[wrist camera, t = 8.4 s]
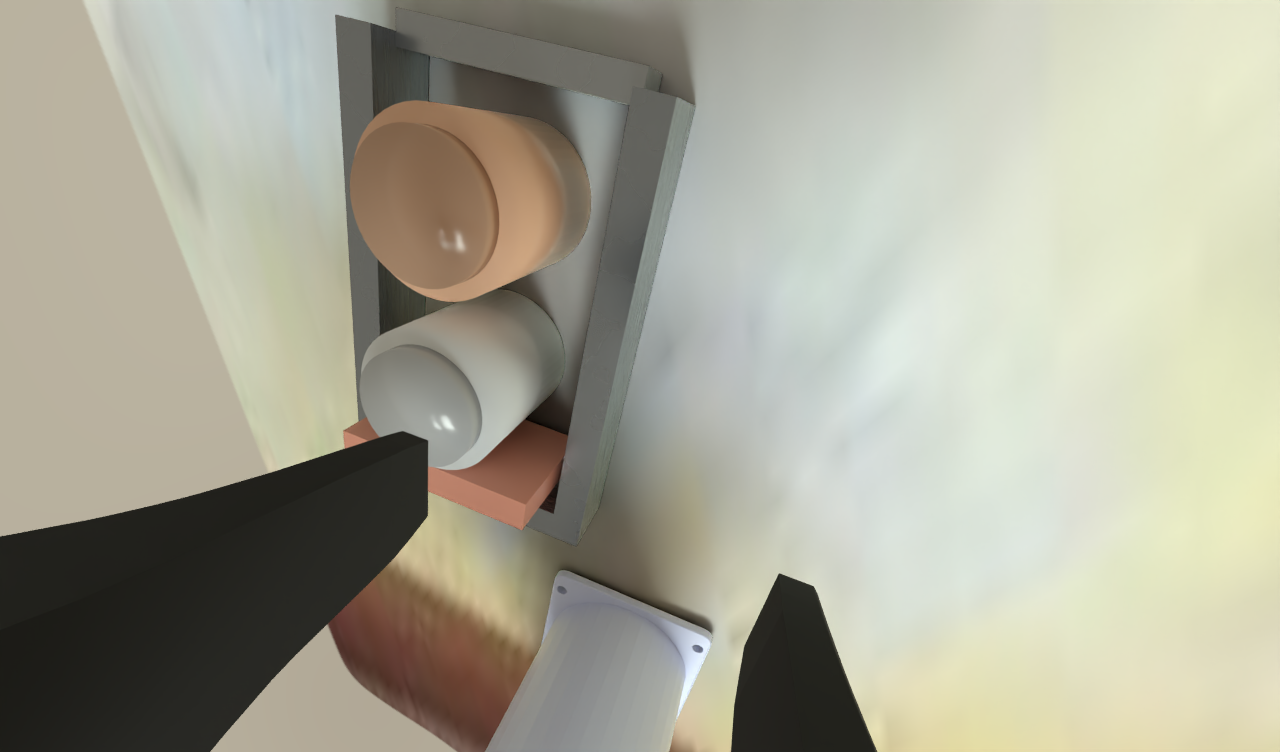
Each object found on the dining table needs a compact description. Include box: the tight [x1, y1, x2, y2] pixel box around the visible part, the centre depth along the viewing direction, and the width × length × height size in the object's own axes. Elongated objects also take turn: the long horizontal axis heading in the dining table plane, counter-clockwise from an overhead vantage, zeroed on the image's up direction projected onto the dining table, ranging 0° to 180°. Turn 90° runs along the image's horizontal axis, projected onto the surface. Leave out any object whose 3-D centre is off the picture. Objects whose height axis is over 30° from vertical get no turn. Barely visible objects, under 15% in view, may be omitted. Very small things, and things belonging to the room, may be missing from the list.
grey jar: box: [360, 289, 565, 470], centre depth 17 cm, size 5×5×6 cm
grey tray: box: [335, 7, 695, 547], centre depth 18 cm, size 17×10×2 cm, turn 166°
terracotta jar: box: [350, 100, 591, 302], centre depth 15 cm, size 5×5×6 cm
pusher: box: [343, 417, 568, 530], centre depth 19 cm, size 2×7×4 cm, turn 76°
